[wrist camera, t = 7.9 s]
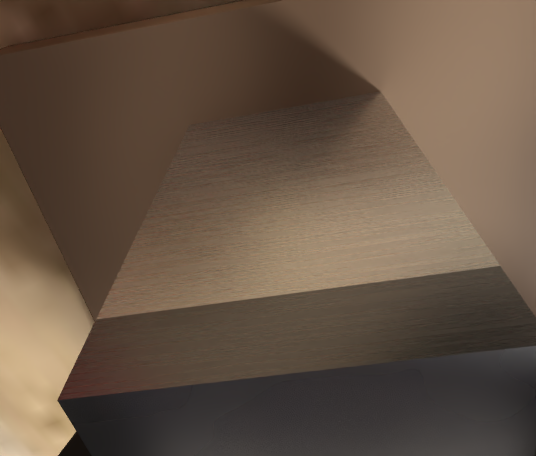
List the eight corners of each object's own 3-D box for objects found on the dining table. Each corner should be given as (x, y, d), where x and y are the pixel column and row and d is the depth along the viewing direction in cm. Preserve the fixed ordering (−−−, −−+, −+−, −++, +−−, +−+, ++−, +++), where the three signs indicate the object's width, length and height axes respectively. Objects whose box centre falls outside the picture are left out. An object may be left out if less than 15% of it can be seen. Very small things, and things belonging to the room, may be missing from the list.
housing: (381, 91, 10) (553, 343, 4) (400, 411, 15) (485, 737, 9) (189, 124, 10) (57, 400, 4) (273, 424, 15) (269, 743, 9)
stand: (564, -62, 9) (610, -64, 8) (507, 401, 17) (527, 440, 15) (6, 46, 11) (-32, 61, 9) (175, 433, 18) (167, 471, 16)
